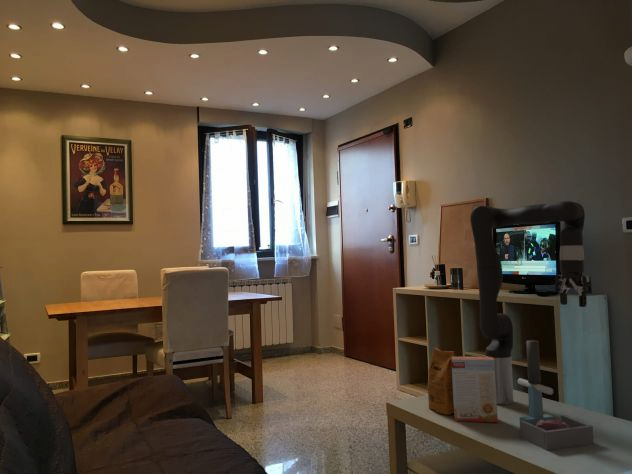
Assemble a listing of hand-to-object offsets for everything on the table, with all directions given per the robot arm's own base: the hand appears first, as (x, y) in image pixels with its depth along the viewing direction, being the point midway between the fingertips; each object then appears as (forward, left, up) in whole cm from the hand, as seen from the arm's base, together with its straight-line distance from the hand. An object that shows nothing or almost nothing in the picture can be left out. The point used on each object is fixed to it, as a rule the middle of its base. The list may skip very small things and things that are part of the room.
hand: (573, 305), depth 172 cm
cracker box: (-8, -35, -38) cm, 52 cm away
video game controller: (+15, -23, -38) cm, 47 cm away
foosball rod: (+9, -24, -37) cm, 45 cm away
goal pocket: (+17, -24, -37) cm, 47 cm away
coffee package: (-21, -39, -38) cm, 58 cm away
